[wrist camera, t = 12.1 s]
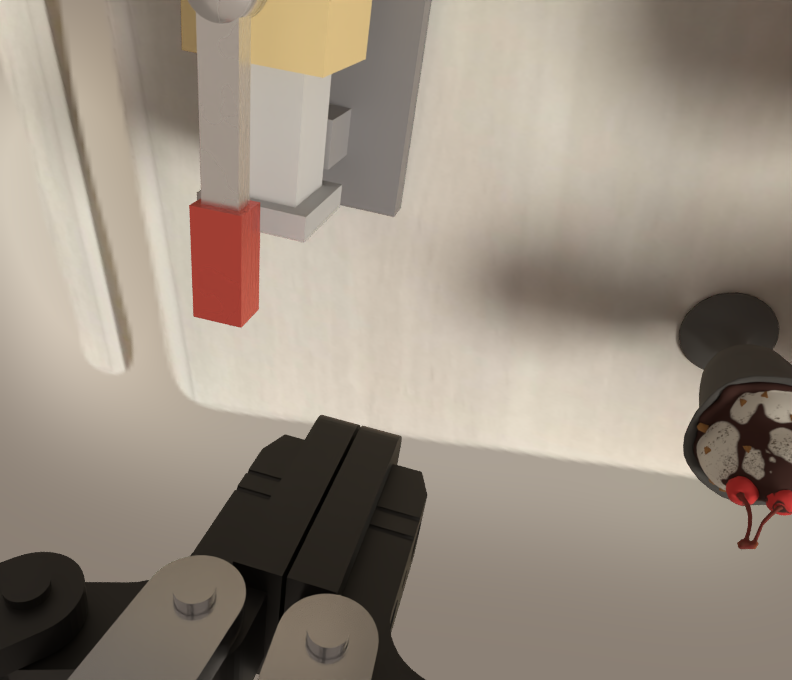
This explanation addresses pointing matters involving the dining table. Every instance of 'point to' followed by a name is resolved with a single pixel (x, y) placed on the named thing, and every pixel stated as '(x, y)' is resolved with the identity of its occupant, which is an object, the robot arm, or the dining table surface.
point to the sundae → (740, 405)
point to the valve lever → (225, 167)
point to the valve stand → (329, 106)
